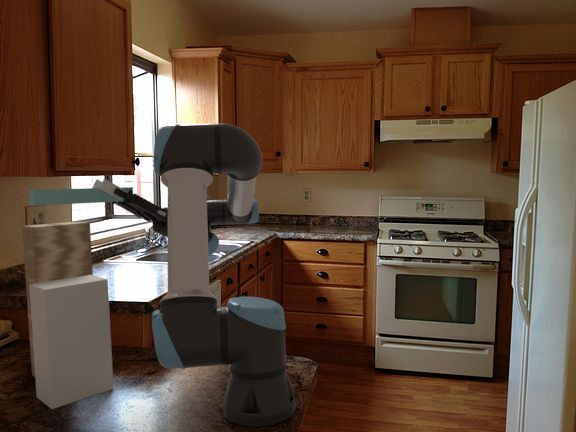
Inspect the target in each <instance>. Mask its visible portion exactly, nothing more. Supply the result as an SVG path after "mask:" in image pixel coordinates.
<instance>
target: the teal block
mask: <svg viewBox="0 0 576 432" xmlns="http://www.w3.org/2000/svg"><path fill="white" fill-rule="evenodd" d="M121 188H122V189H124V190H125V191H127V193H128V192H129V190H132V191H133V192H132V194H134V187H132V186H131V187H129V186H128V187H126V186H125V187H121ZM124 200H125V199H124ZM124 200H123V201H124ZM112 202H120V200H118V199H117V198H115V197H113V196H111V195H109V194H108V193H106V192H104V191H102V190H100V189H99V188H92V187H91V188H88V187H87V188H58V189H28V205H29V206H53V205H72V204H73V205H74V204H76V205H77V204H79V205H80V204H92V203H93V204H95V203H112Z"/></svg>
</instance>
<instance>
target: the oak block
mask: <svg viewBox="0 0 576 432" xmlns="http://www.w3.org/2000/svg"><path fill="white" fill-rule="evenodd" d="M21 227H22V239H23V240H22V242H23V257H24V259H23V260H24V273H25V287H26V289H25V290H26V303H27V317H28V318H27V319H28V335H29V348H30V364H31V366H30V367H31V375H32V376H33V377H34V378H35V363H34V348H33V333H32V317H31V302H30V287H29V284H35V283H41V282H47V281H54V280H60V279H67V278H73V277H79V276H86V275H93V273H94V272H93V259H92V258H93V255H92V237H91V222H89V221H88V222H87V221H86V222H85V221H67V222H56V223H54V222H53V223H43V224H32V225H22V226H21Z"/></svg>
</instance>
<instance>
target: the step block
mask: <svg viewBox="0 0 576 432" xmlns="http://www.w3.org/2000/svg"><path fill="white" fill-rule="evenodd" d="M108 281H109V280H108V279H107V278H104V277H100V276H97V275H86V276H79V277H73V278H67V279H60V280H54V281H47V282H41V283H35V284H29V287H30V302H31V317H32V333H33V348H34V363H35V377H34V378H35V391H36V398H37V399H38V400H40V401H41V402H42V403H43V404H45V405H46V407H49V408H50V409H51V410H53V409H56V408H57V409H58V408H60V407H62V406H66V405H69V404H72V403H75V402H78V401H80V400H81V401H82V400H85V399H87V398H91V397H93V396H96V395H99V394H103V393H106V392H108V391H112V390H114V372H113V371H114V370H113V356H112V355H113V353H112V337H111V336H112V335H111V318H110V316H111V315H110V301H109V298H110V297H109V282H108Z"/></svg>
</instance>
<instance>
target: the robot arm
mask: <svg viewBox="0 0 576 432" xmlns="http://www.w3.org/2000/svg"><path fill="white" fill-rule="evenodd" d="M152 164H153V172H154V173H155V175H157V176H159V177H160V181H161V184H162V185H164V186H165V187H166V188H167V207H166V206H165V207H161V206H159V205H156V204H155V203H153V202H152V201H149V200H147V199H145V198H144V197H143V196H140V195H139V194H137V193H134V190H133V191H132V190H129V192H128V193H127V191H125V190H124V189H122V188H123V187H120V186H118V185H116V184H115V183H114V182H111V181H110V180H108V179H106V178H104V179H103V180H99V179H95V182H94V184H93V186H91V188H99V189H100V190H102V191H104V192H106V193H108V194H109V195H111V196H113V197H115V198H117V199H118V200H120V202H111V204H112V205H116V206H118V207H120V208H122V209H123V210H125V211H127V212H129V213H131V214H133V216H136V217H137V218H139V219H141V218H142V219H143V220H145V221H146V222H148V223H152V229H153V231H154V232H155V233H157V234H158V235H161V236H163V237H165V238H167V293H166V294H164V296H163V297H162V298H161V299H160V301H159V305H160V306H159V309H156V310H153V311H152V313H151V319H152V320H151V326H152V327H151V328H152V335H153V343H154V349H155V352H156V357H157V360H158V362H159V364H160V366H162V367H163V368H165V369H182V370H183V369H184V370H185V369H186V368H201V367H211V366H213V367H214V366H226V365H229V370H230V374H229V379H228V382H227V385H226V390H225V393H224V397H223V399H222V414H223V416H224V417H225V419H226V420H227V421H229V422H231V423H233V424H236V425H238V426H243V427H259V428H260V427H261V428H262V427H270V426H273V425H277V424H280V423H283V422H285V421H286V420H288V419H290V418H291V417H293V415H294V414H295V412H296V405H297V404H296V396H295V393H294V390H293V388H292V385H291V381H290V379H289V376H288V374H287V361H286V360H287V353H286V349H287V348H286V329H287V325H286V320H285V310H284V308H283V306H282V305H281V304H280V303H278V302H276V301H275V300H272V299H268V298H263V297H257V296H238V297H237V296H236V297H235V296H234V297H231V298H229V300H228V301H227V304H226V306H218V298H217V297H216V295H214V294H213V293H212V292H211V290H210V268H209V267H210V263H209V262H210V261H209V257H210V256H212V255H214V254H215V253H216V251H217V249H218V248H219V244H220V238H219V237H218V235H216V233H214V232H212V230H211V227H212V226H218V225H219V226H220V225H249V224H256V223H258V222H259V219H260V217H259V216H260V208H259V207H260V206H259V201H258V200H257V199H255V192H256V183H257V177H258V176H259V175H260V173H261V172H262V168H263V154H262V151H261V148H260V146H259V144H258V143H257V141H256V140H255V139H254V138H253V137H252V135H251V134H250V133H248V132H247V131H246V130H244V129H242V128H241V127H239V126H237V125H234V124H230V123H223V122H222V123H183V124H182V123H179V122H177V123H175V124H173V123H172V124H164V125H162V126H160V128H159V129H157V132H156V135H155V139H154V147H153V163H152ZM221 174H224V175H225V174H226V175H227V178H226V179H227V187H226V188H227V198H226V199H211V200H210V196H209V195H208V193H207V192H208V191H207V190H208V189H207V188H208V187H209V186H211V184H213V182H214V175H221ZM132 192H133V194H132ZM124 199H125V200H124ZM123 200H124V201H123Z"/></svg>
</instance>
